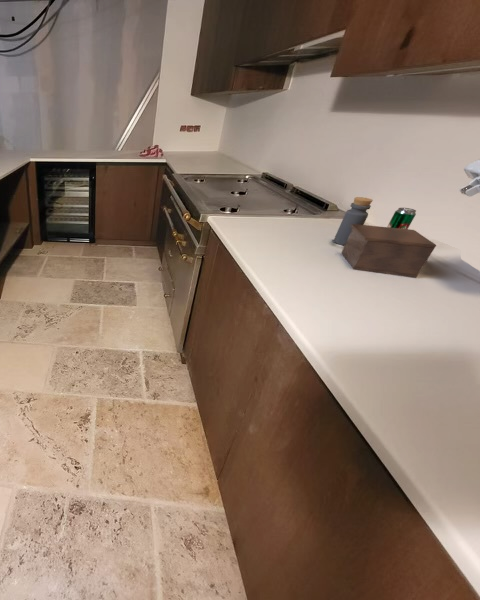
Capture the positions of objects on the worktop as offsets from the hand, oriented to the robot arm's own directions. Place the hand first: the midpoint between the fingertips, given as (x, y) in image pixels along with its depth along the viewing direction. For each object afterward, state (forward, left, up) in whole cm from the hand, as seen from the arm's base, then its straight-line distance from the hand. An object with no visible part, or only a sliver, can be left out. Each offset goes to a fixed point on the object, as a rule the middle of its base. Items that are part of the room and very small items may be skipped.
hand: (463, 193), depth 81 cm
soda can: (-1, -22, -22) cm, 31 cm away
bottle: (+13, -18, -22) cm, 31 cm away
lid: (+10, -1, -13) cm, 16 cm away
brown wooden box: (+9, -1, -22) cm, 24 cm away
